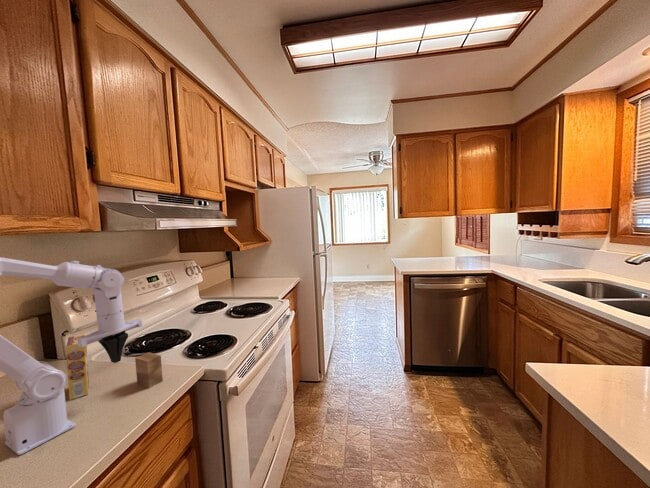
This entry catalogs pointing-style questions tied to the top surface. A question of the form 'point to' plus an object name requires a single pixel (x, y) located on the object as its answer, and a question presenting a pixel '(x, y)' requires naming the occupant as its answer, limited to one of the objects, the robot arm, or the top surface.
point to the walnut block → (149, 369)
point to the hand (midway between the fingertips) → (116, 361)
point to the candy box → (77, 368)
